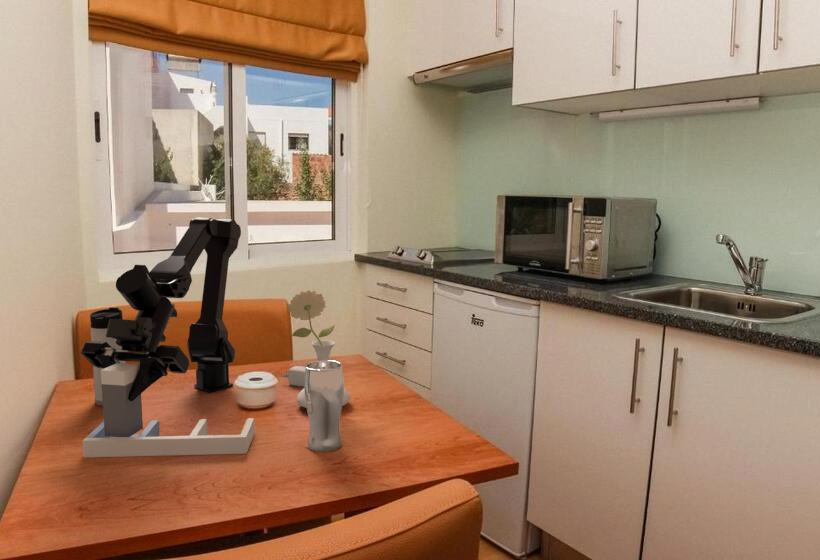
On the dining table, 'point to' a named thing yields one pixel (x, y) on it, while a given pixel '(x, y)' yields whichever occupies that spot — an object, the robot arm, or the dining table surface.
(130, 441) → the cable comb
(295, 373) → the usb wall charger
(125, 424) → the grey tall block
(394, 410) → the dining table surface
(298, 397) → the flower in vase
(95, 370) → the travel mug
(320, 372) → the beer glass
